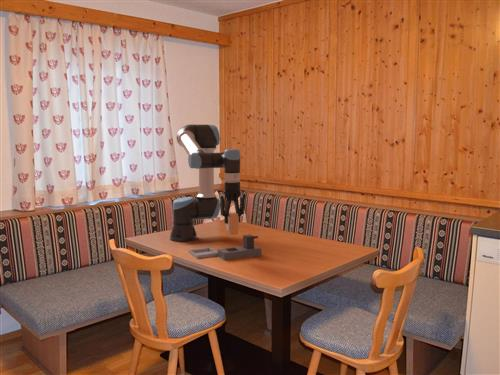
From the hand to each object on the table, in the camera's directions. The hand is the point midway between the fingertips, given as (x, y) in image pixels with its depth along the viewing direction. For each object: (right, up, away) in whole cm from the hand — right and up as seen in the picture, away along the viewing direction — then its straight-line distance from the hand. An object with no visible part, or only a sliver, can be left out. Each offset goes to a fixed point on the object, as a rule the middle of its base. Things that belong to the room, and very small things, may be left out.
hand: (232, 229), depth 224 cm
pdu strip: (+3, -14, +4) cm, 15 cm away
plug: (0, -2, 0) cm, 2 cm away
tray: (-15, -13, +6) cm, 21 cm away
